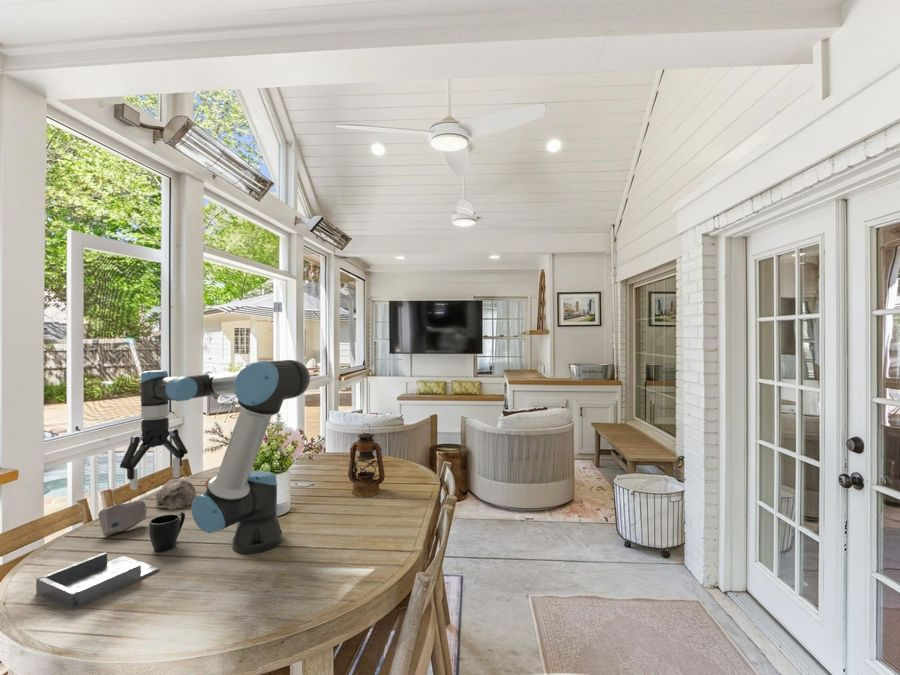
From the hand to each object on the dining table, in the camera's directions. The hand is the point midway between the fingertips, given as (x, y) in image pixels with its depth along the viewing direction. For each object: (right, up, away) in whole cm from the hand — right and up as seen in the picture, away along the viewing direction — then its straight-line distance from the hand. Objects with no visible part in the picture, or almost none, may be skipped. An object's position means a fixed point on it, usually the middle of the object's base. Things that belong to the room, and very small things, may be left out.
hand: (156, 482), depth 146 cm
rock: (-15, -21, +35) cm, 43 cm away
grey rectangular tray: (0, -20, -24) cm, 31 cm away
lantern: (+59, -20, +50) cm, 80 cm away
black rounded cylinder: (+5, -20, -1) cm, 21 cm away
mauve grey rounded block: (-18, -20, +10) cm, 29 cm away
